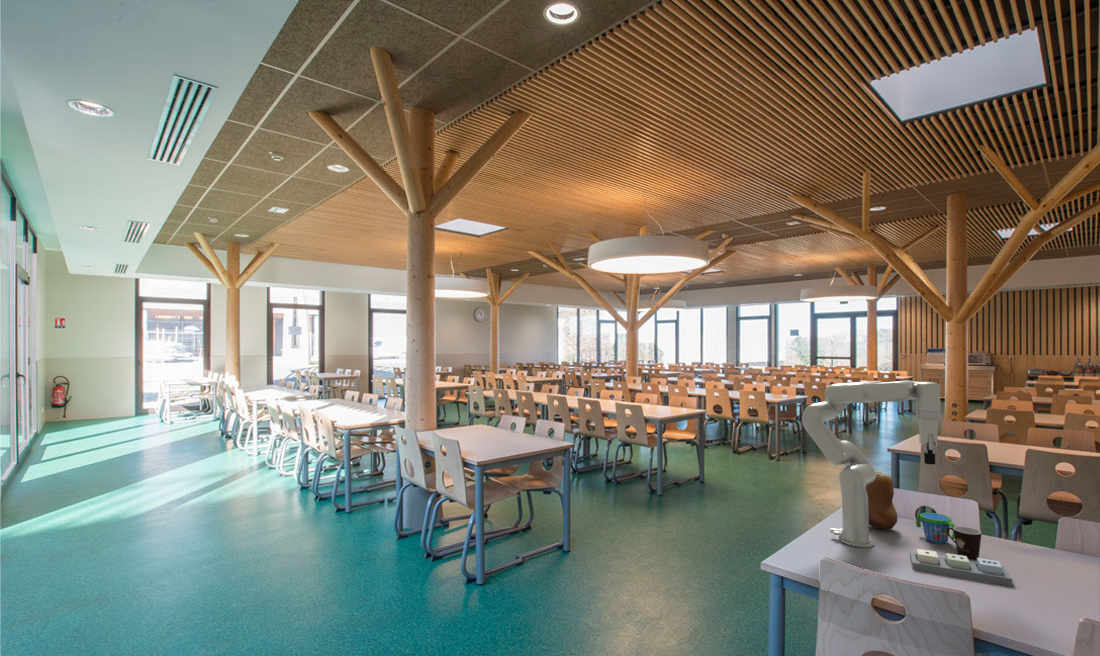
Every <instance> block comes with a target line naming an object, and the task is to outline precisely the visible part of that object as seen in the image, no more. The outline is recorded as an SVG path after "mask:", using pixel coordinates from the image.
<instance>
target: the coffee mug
mask: <svg viewBox="0 0 1100 656" xmlns="http://www.w3.org/2000/svg"><path fill="white" fill-rule="evenodd" d="M950 530H953V531H954V536H955V539H953V538H952V535H951V534H950ZM953 531H952V532H953ZM947 534H948V535H949V537H948V538H950V540H951V541H952V542H954V544H955V546H956V547H955V548H956V553H957V554H956V555H962V556H967V558H968V560H970V561H977V558H980V549H981V540H982V531H981V530H979V529H977V528H972V527H968V526H959V525H958V526H955V527H954V528H951V527H950V528H948V529H947Z"/></svg>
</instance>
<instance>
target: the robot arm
mask: <svg viewBox="0 0 1100 656" xmlns="http://www.w3.org/2000/svg"><path fill="white" fill-rule="evenodd" d="M940 386H941V385H940V384H939V383H937V382H933V381H915V380H909V379H907V380H899V381H889V382H868V381H858V382H839V383H832V384H829V385H828V386H827V387H826V389H825V391H824V396H825V399H824V400H823V401H821V402H814V403H810V404H809V405H807V406H806V407H805V409H804V410H803V412H802V415H801V421H802V426H803V427H804V429H805V431H806V432H807V433H808V435H809V436H810V438H811V439H812V440H813V441H814V443H815V444H816V446H817V447H818V448H819V449H820V451H821V452H822V453H823V456H824V457H825V458H826V459H827V460H828V461H829V463H831V464H832V465H834V466H842V465H843V466H844V468H842V469H841V471H840V472H839V480H838V481H839V486H840V490H841V492H840V493H841V512H842V514H841V516H842V517H841V518H842V527H841V528H838V529H837V528H832V527H831V528H830V533H831V534H833V535H835V536H838V540H839V541H840V540H841V541H842V542H844V543H847V544H850V545H854V546H859V547H858V548H872V547H873V546H874V544H875V542H874V540H873V539H872V538H870V525H869V513H868V496H867V492H866V486H867V485H869V484H871V483H873V482H874V480H875V478H876V473H875V471H876V470H875V468H874V466H873V465H872V464H871V463H870V462H869V460H868V459H867V458H866V456H865V455H864V454H863V453H862V451H861V450H860V448H858V447H857V446H856V445H855V444H854V443H852V442H851V441H849V440H846V439H845V440H840V439H839V438H838V437H837V436H836V435H835V433H834V431H833V430H832V429H831V428H830V427H828V426H827V425H826V424H825V422H829V421H833V420H834V419H836V418H837V417H838V416H839V415H840V414H841V413H842V412H843V411H844V410H845V409H846V408H847V407H848V406H849V404H865V403H867V404H871V403H890V402H891V403H892V402H896V403H897V402H904V401H910V400H915V410H916V411H915V412H916V413H915V415H916V419H919V423H918V424H919V427H918V428H919V430H918V431H919V432H918V434H919V435H918V436H919V438H918V440H919V444H920V445H921V446H922V447H923V446H924V447H923V448H924V453H923V456H924V457H923V459H924V461H923V462H924V463H925V464H926V465H936V453H935V447H937V446H938V438H939V436H938V421H940V420H942V419H941V418H942V415H941V414H942V413H941V387H940ZM925 464H924V465H925ZM841 541H840V542H841ZM842 542H841V543H842ZM844 543H843V544H844ZM847 544H846V545H847ZM850 545H849V546H850ZM854 546H853V547H854Z"/></svg>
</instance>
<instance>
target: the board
mask: <svg viewBox="0 0 1100 656" xmlns="http://www.w3.org/2000/svg"><path fill="white" fill-rule="evenodd" d="M909 558H910V559H909V560H910V563H911V566H912V570H915V571H921V572H927V573H932V574H939V575H944V576H951V577H956V578H963V579H967V580H975V581H979V582H986V583H991V584H999V585H1003V586H1008V587H1010V586H1011V587H1013V578H1012V576H1011V574H1010V573H1009V572H1008V570H1007V569H1006V566H1005V565H1003V564H1000V565H1001V566H1002V574H1003V575H1000V574H994V573H988V572H982V571H979V570H978V568H977V560H970V559H968V560H969V562H970V569H963V568H957V567H951V566H947V564H946V556H944V555H943V556H942V555H938V564H933V563H926V562H920V561H917V551H911V550H910V551H909Z"/></svg>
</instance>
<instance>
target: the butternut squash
mask: <svg viewBox="0 0 1100 656" xmlns="http://www.w3.org/2000/svg"><path fill="white" fill-rule="evenodd" d="M875 473H876V478H875V480H874V482H873V483H871V484H869V485H867V486H866V492H867V496H868V513H869V527H870V526H871V527H872V528H874V529H875V530H877V529H878V530H879V531H882V530H883V531H889V530H891V529H893V528H894V527H895V526H896V525H897V523H898V513H897V510H896V507H895V505H894V503H893V498H894V495H895V492H894V488H895V487H894V481H893V478H892V477H891V476H890V475H889V474H887V473H885V472H882V471H878V470H875ZM883 531H882V532H883Z"/></svg>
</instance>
